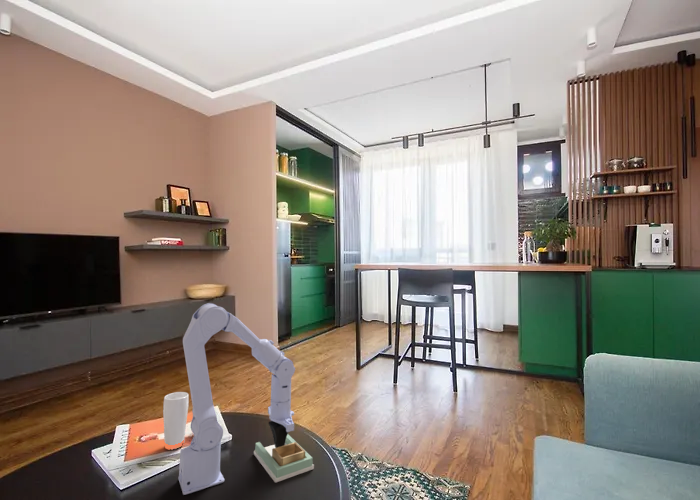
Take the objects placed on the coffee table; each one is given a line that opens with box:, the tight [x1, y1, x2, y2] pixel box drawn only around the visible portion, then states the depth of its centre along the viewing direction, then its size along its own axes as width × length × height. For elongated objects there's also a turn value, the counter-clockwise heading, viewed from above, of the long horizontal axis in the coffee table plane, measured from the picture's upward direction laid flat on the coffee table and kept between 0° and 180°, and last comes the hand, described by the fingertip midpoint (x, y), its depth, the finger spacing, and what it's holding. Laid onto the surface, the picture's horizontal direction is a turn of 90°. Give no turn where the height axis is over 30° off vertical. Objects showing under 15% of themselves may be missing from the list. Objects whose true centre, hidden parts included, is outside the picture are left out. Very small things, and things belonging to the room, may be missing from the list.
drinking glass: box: [162, 391, 190, 445], centre depth 103 cm, size 7×7×15 cm
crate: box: [272, 441, 306, 466], centre depth 93 cm, size 7×6×4 cm
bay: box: [253, 433, 315, 483], centre depth 96 cm, size 11×16×3 cm
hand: (279, 447), depth 98 cm, fingers closed
